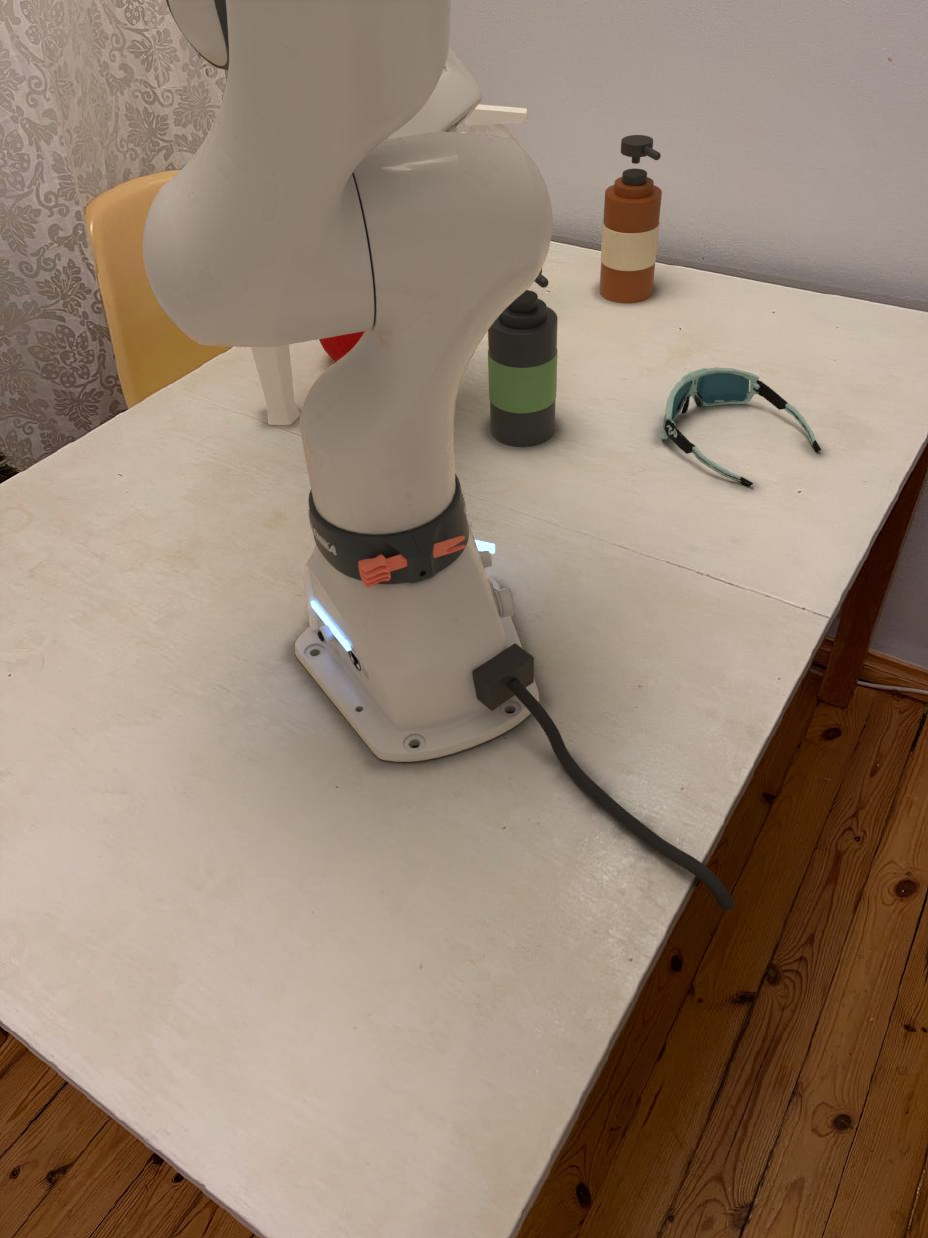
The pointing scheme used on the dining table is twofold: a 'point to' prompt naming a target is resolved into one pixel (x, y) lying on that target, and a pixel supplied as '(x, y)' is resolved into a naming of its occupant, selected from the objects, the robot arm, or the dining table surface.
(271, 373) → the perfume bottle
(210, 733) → the dining table surface
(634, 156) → the dark grey pump head
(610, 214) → the amber bottle
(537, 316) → the dark grey pump bottle
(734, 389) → the sunglasses
